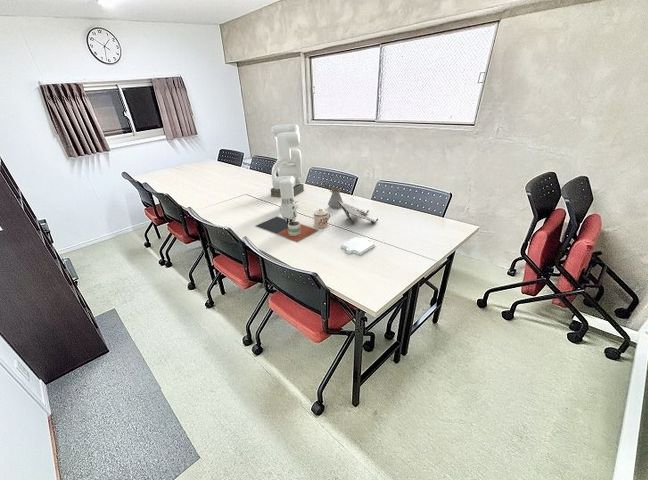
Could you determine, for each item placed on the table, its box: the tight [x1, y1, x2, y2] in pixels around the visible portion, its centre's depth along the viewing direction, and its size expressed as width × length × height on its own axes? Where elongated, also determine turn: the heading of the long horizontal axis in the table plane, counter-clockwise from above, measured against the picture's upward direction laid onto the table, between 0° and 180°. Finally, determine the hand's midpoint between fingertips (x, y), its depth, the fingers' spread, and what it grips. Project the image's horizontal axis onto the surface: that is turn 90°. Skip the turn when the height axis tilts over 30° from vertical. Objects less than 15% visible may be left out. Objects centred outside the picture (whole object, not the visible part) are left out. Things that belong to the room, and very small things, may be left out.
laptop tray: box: [337, 201, 379, 224], centre depth 188 cm, size 23×23×9 cm
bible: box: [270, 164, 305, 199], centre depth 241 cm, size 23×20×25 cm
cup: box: [288, 220, 301, 236], centre depth 177 cm, size 8×8×6 cm
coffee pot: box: [323, 182, 344, 210], centre depth 212 cm, size 21×12×15 cm, turn 29°
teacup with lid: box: [313, 207, 331, 229], centre depth 184 cm, size 12×9×12 cm
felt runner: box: [255, 216, 319, 243], centre depth 187 cm, size 20×39×1 cm, turn 46°
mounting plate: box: [340, 236, 376, 256], centre depth 158 cm, size 18×13×2 cm
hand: (289, 227), depth 183 cm, fingers closed
